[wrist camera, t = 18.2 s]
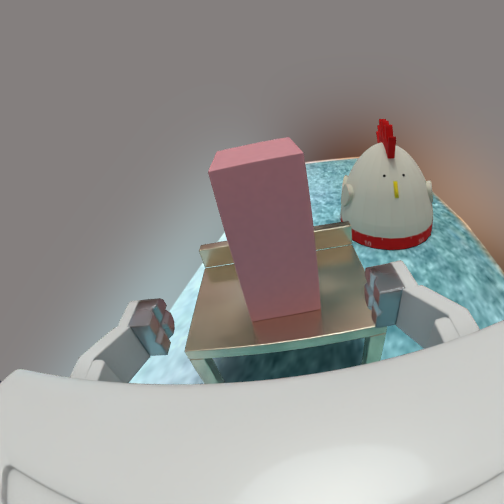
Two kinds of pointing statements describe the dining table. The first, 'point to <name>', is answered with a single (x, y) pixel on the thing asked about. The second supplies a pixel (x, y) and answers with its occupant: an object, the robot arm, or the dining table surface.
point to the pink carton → (268, 226)
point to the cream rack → (286, 327)
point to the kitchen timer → (387, 196)
